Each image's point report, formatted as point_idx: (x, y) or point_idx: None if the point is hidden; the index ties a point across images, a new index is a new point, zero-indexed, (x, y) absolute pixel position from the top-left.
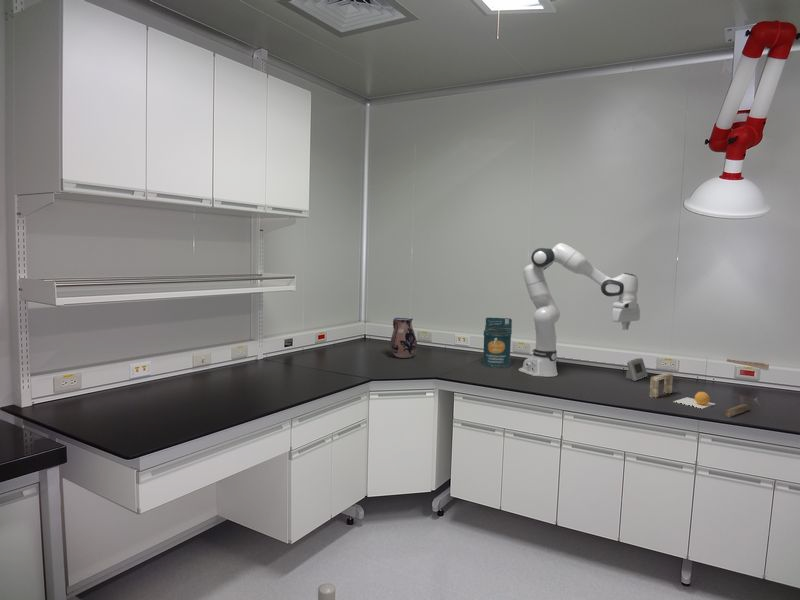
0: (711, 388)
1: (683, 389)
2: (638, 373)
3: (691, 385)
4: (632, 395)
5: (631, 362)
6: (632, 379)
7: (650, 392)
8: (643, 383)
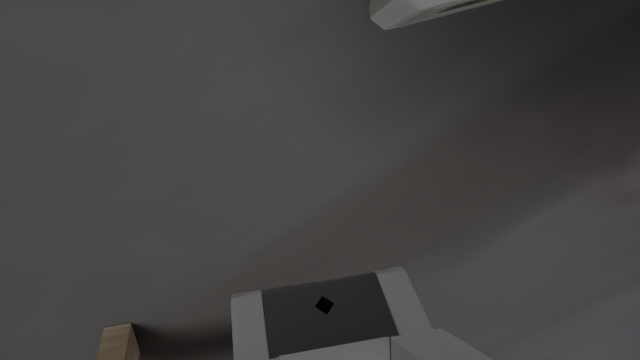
0: (615, 321)
1: (459, 287)
2: (464, 8)
3: (600, 246)
4: (9, 278)
5: (423, 10)
6: (370, 1)
7: (100, 351)
8: (378, 90)
